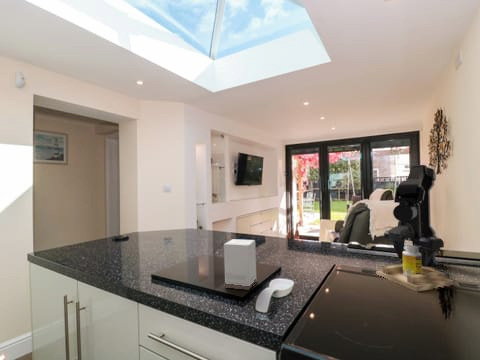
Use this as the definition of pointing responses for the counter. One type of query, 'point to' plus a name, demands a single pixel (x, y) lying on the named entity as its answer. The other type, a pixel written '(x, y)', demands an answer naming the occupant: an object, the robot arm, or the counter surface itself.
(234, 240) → the supplement box
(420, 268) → the supplement bottle
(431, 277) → the stand
